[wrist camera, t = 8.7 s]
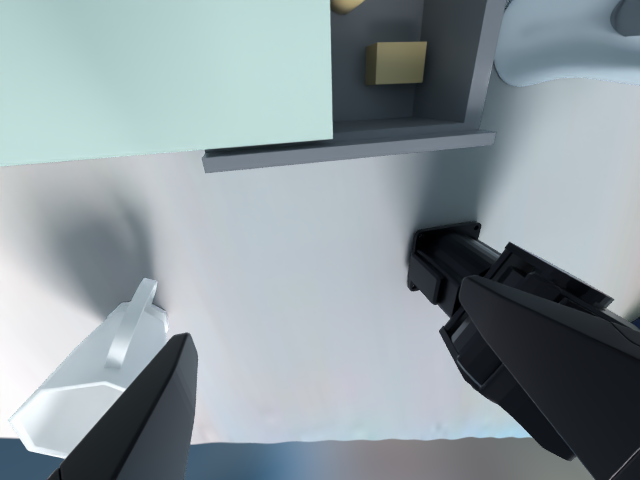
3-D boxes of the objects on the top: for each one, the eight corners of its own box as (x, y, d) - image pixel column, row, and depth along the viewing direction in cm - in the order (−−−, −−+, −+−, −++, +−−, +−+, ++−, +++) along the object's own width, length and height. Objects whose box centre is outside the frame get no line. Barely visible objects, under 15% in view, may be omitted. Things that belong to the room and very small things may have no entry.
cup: (78, 346, 22) (0, 463, 15) (105, 240, 19) (22, 325, 12) (173, 359, 25) (145, 463, 18) (211, 268, 21) (195, 352, 15)
